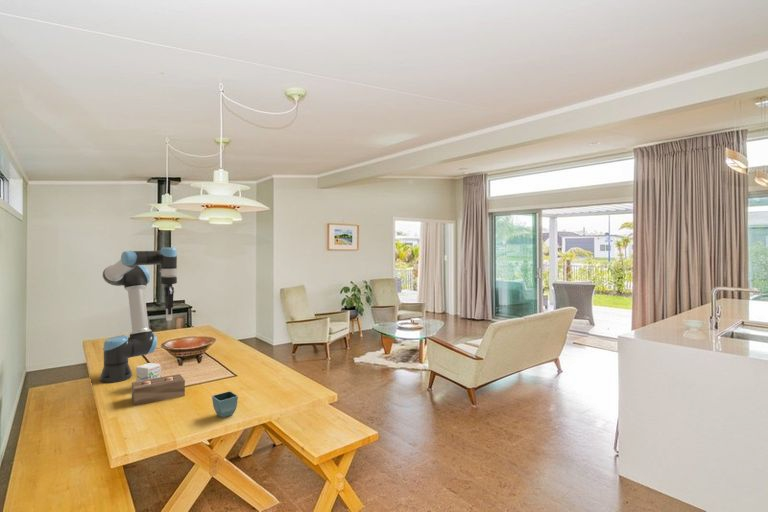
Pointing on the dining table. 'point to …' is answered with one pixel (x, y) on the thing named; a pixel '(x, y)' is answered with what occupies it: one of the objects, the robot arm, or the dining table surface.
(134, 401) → the walnut block
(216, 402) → the flower pot
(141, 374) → the ink box
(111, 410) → the dining table surface
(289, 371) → the dining table surface
